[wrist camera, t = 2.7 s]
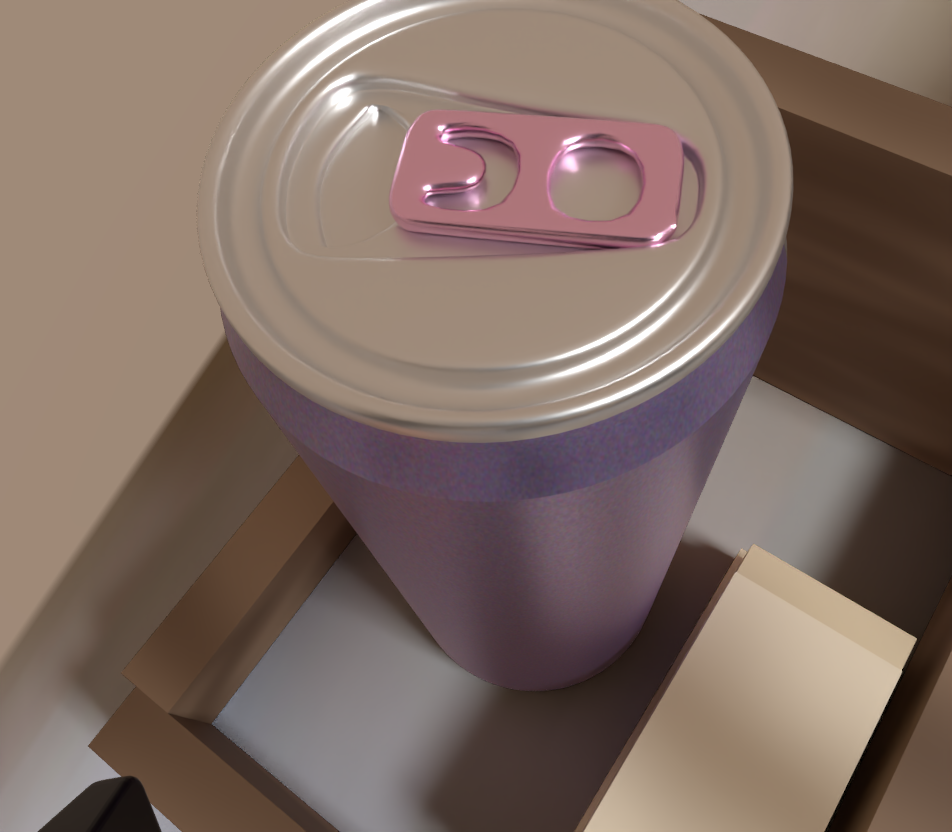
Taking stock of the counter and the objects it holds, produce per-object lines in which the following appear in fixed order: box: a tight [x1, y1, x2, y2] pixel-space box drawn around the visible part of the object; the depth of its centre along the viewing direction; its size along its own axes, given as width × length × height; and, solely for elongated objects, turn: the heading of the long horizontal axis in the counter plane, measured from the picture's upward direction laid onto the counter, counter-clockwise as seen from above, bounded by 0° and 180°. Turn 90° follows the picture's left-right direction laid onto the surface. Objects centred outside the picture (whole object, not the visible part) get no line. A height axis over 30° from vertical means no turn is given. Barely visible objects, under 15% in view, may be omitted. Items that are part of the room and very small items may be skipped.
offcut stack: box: [574, 544, 917, 832], centre depth 17 cm, size 10×4×4 cm, turn 145°
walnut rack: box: [88, 14, 952, 832], centre depth 17 cm, size 18×16×9 cm
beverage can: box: [197, 0, 793, 691], centre depth 15 cm, size 6×6×15 cm
